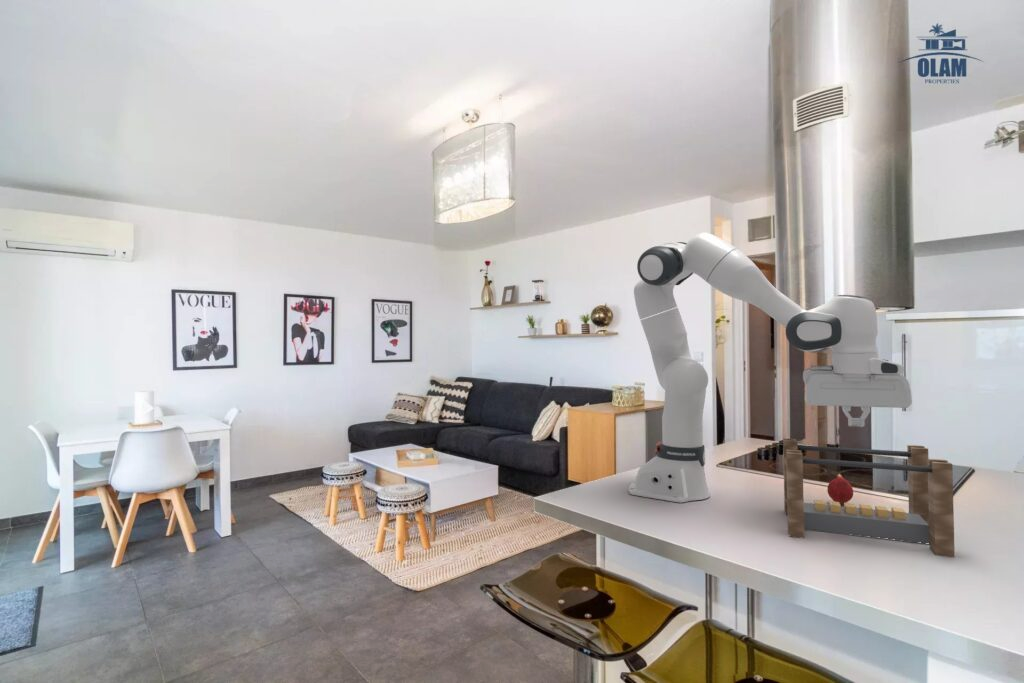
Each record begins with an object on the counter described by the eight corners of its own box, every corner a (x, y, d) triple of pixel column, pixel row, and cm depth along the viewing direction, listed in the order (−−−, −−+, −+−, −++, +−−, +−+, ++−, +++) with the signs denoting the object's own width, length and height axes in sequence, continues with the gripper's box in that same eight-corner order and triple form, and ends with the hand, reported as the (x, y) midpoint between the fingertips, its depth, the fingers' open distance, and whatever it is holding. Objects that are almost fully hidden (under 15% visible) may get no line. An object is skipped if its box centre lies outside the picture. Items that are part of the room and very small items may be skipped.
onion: (857, 509, 133) (857, 477, 133) (833, 507, 134) (832, 476, 134) (847, 502, 138) (847, 472, 138) (824, 501, 140) (823, 471, 140)
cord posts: (788, 536, 115) (787, 453, 115) (784, 509, 133) (783, 438, 133) (954, 557, 102) (952, 464, 103) (924, 524, 120) (923, 445, 121)
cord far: (788, 449, 130) (788, 444, 130) (787, 448, 131) (787, 444, 131) (924, 458, 118) (924, 453, 118) (923, 457, 120) (922, 452, 120)
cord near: (792, 462, 116) (791, 457, 116) (791, 461, 117) (791, 456, 117) (947, 474, 104) (947, 468, 104) (945, 473, 105) (945, 467, 105)
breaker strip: (799, 528, 119) (799, 504, 119) (797, 518, 126) (796, 495, 126) (929, 544, 109) (929, 517, 109) (918, 531, 116) (918, 506, 116)
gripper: (803, 366, 120) (805, 426, 119) (913, 366, 111) (914, 430, 111) (801, 365, 125) (803, 422, 125) (905, 365, 117) (907, 426, 116)
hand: (856, 426), depth 118 cm, fingers closed
